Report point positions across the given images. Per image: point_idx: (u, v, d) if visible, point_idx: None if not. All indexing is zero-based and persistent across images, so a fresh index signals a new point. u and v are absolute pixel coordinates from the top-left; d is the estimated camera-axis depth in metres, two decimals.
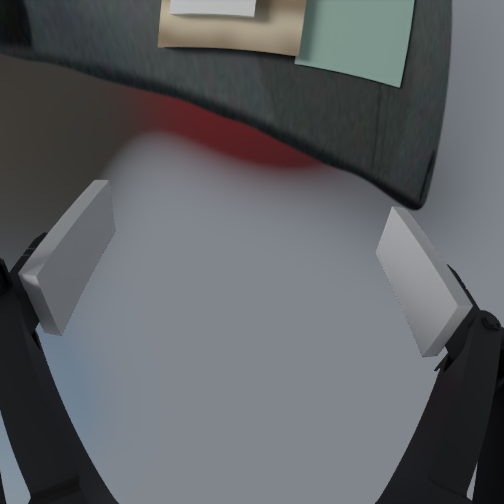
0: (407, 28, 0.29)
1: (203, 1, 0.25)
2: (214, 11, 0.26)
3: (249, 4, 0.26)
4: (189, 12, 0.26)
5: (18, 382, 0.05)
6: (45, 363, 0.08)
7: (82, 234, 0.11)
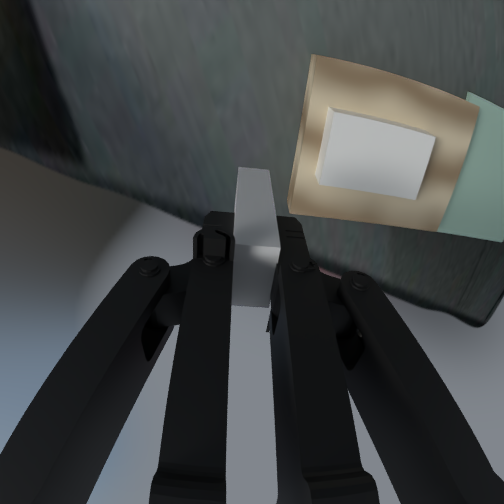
0: None
1: (365, 174, 0.24)
2: (375, 190, 0.25)
3: (414, 184, 0.24)
4: (345, 187, 0.25)
5: (205, 360, 0.07)
6: None
7: None
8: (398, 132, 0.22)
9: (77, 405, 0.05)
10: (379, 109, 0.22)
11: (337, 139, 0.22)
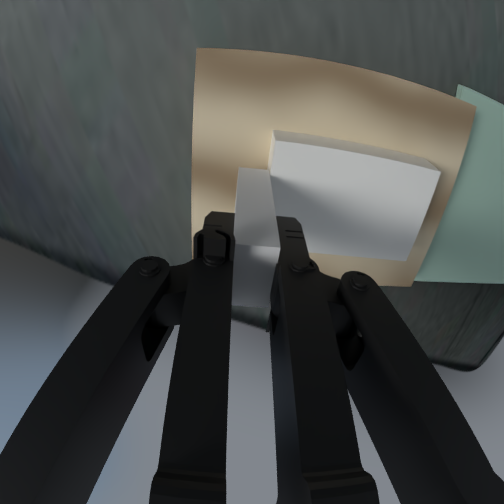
0: None
1: (329, 231, 0.17)
2: (346, 251, 0.18)
3: (405, 241, 0.17)
4: None
5: (206, 360, 0.07)
6: None
7: None
8: (382, 167, 0.14)
9: (77, 405, 0.05)
10: (308, 120, 0.15)
11: (282, 182, 0.15)
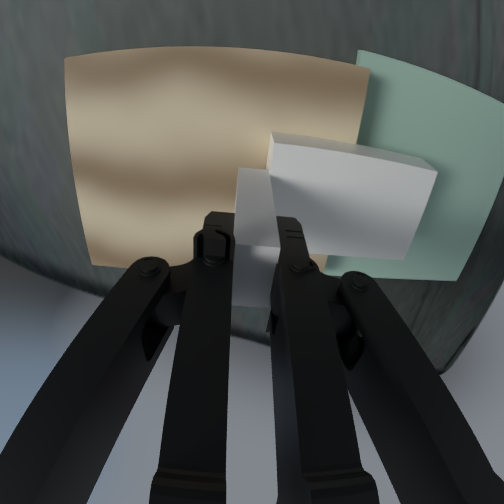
0: (492, 197, 0.20)
1: (328, 232, 0.17)
2: (344, 252, 0.18)
3: (403, 241, 0.17)
4: None
5: (205, 360, 0.07)
6: None
7: None
8: (380, 168, 0.15)
9: (77, 405, 0.05)
10: (163, 109, 0.15)
11: (281, 184, 0.15)
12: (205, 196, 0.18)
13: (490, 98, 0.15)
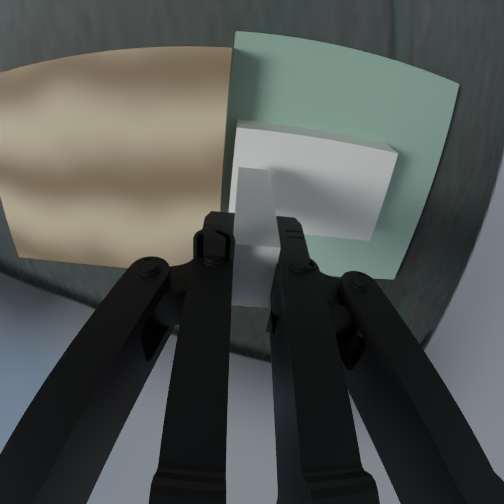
0: (427, 183, 0.19)
1: (291, 211, 0.18)
2: (309, 230, 0.19)
3: (367, 221, 0.19)
4: None
5: (205, 360, 0.07)
6: None
7: None
8: (338, 149, 0.16)
9: (77, 405, 0.05)
10: (50, 115, 0.14)
11: (245, 165, 0.17)
12: (92, 191, 0.17)
13: (409, 66, 0.15)
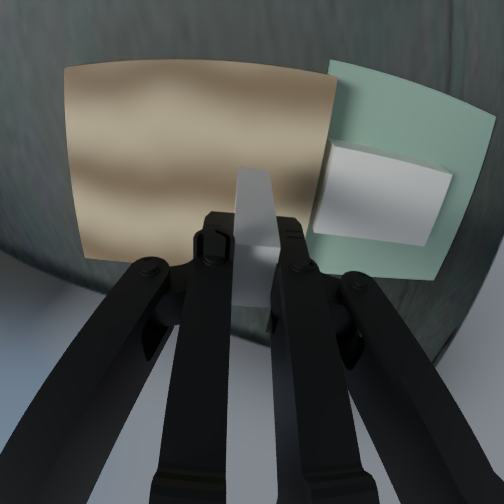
0: (467, 198, 0.22)
1: (368, 220, 0.20)
2: (379, 237, 0.21)
3: (424, 229, 0.21)
4: (345, 234, 0.21)
5: (205, 360, 0.07)
6: None
7: None
8: (410, 170, 0.18)
9: (77, 405, 0.05)
10: (150, 115, 0.16)
11: (337, 179, 0.19)
12: (187, 194, 0.19)
13: (461, 102, 0.17)
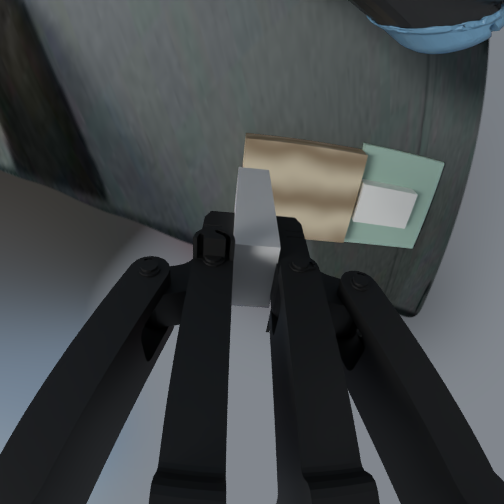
0: (428, 204, 0.45)
1: (377, 216, 0.44)
2: (382, 224, 0.45)
3: (404, 220, 0.45)
4: (366, 222, 0.45)
5: (205, 360, 0.07)
6: None
7: None
8: (397, 193, 0.42)
9: (77, 405, 0.05)
10: (288, 167, 0.40)
11: (364, 198, 0.42)
12: (300, 203, 0.43)
13: (425, 158, 0.41)
